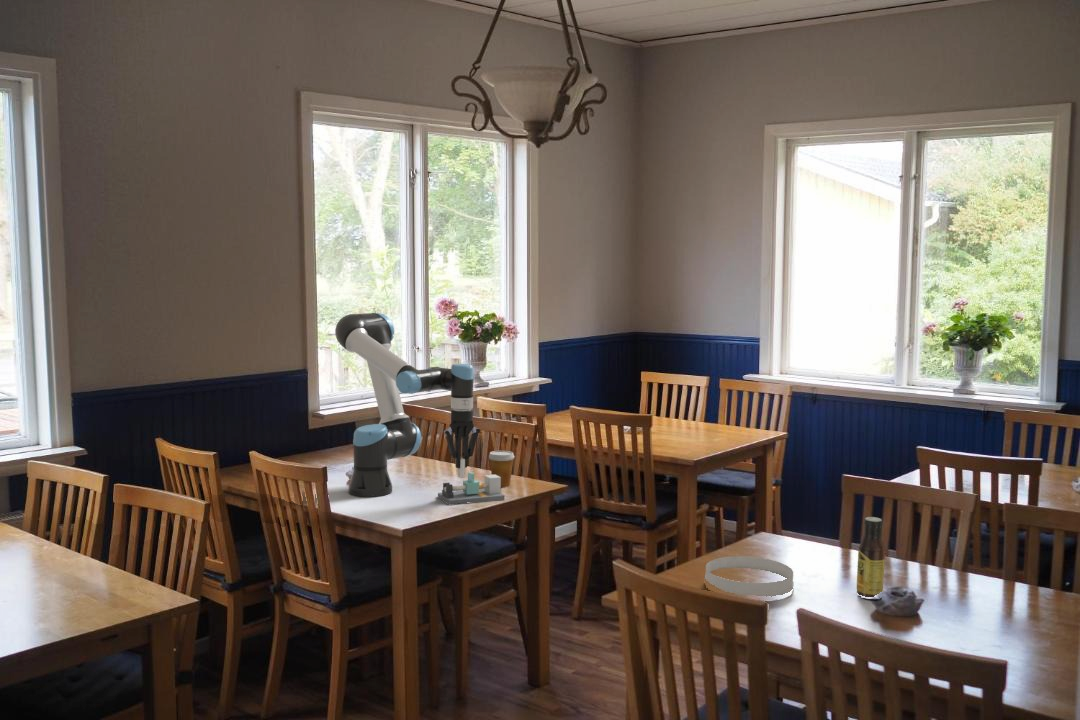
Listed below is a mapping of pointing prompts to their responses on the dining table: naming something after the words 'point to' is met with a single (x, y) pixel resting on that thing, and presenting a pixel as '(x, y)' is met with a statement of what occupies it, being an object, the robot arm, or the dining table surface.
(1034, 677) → the dining table surface
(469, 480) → the sleeve
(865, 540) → the sauce bottle
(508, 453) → the disposable coffee cup
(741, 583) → the ring
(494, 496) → the cable board
